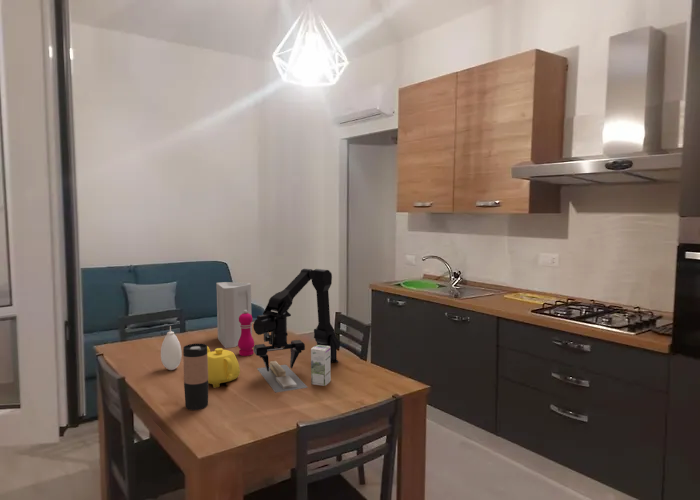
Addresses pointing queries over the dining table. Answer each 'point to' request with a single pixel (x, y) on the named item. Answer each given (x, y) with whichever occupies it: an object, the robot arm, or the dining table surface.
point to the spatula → (282, 376)
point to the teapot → (221, 366)
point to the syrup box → (320, 365)
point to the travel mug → (195, 376)
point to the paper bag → (231, 310)
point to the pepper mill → (245, 335)
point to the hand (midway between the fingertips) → (279, 369)
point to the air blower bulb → (171, 351)
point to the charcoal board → (271, 380)
